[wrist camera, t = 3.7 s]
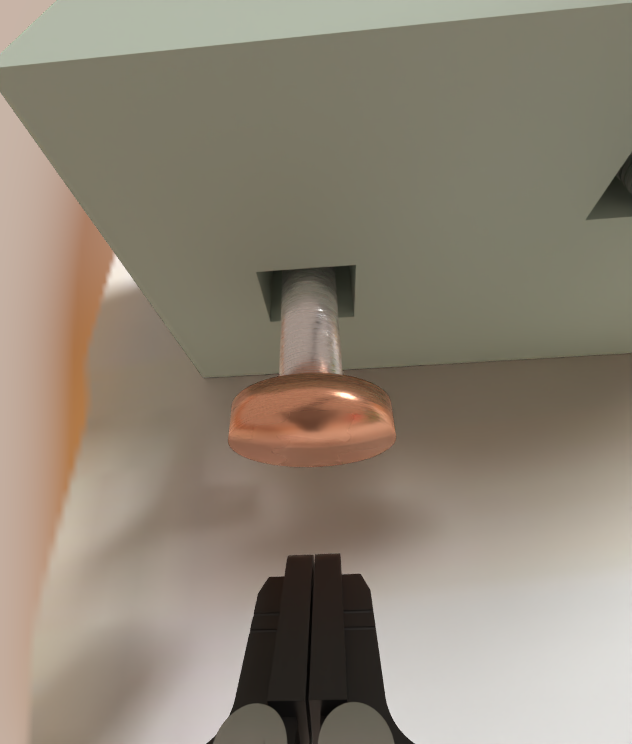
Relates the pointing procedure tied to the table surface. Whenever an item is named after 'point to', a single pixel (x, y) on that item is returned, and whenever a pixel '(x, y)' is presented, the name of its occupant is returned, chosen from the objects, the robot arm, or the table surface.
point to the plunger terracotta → (311, 389)
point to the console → (350, 167)
